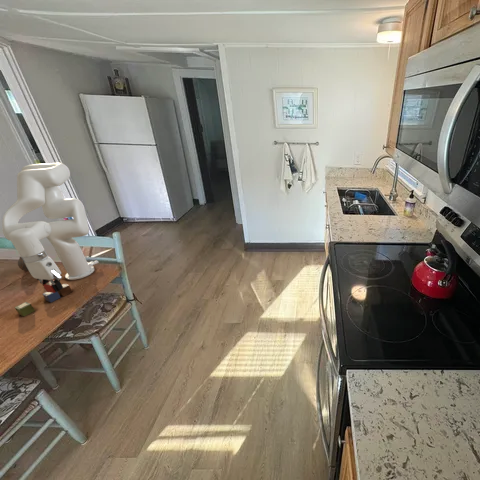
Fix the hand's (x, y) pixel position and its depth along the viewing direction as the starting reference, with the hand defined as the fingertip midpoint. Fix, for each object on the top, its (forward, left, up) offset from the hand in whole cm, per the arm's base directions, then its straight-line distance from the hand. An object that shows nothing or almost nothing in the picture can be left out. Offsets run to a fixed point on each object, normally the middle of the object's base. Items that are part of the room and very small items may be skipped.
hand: (54, 289), depth 123 cm
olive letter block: (+10, -7, -8) cm, 15 cm away
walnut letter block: (-5, -7, -8) cm, 12 cm away
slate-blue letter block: (0, -7, -8) cm, 11 cm away
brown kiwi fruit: (-10, -51, -8) cm, 53 cm away
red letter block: (0, 0, 0) cm, 0 cm away
